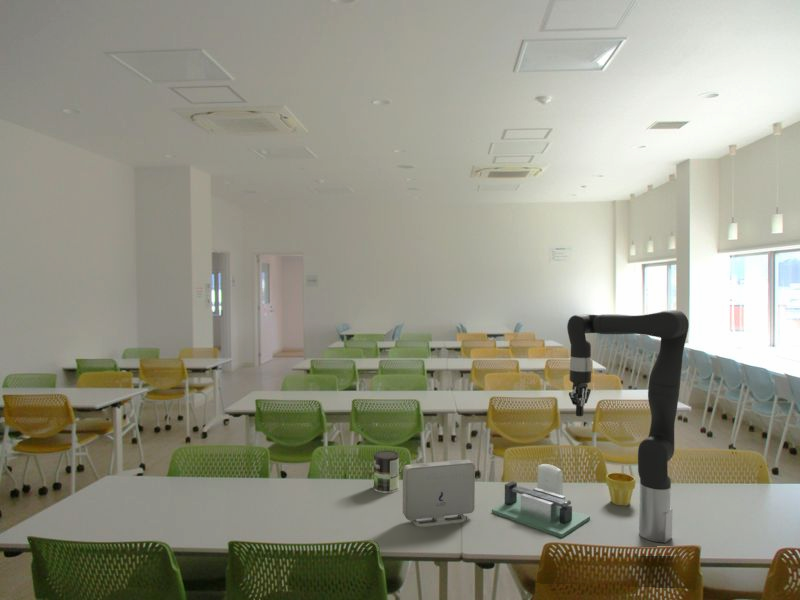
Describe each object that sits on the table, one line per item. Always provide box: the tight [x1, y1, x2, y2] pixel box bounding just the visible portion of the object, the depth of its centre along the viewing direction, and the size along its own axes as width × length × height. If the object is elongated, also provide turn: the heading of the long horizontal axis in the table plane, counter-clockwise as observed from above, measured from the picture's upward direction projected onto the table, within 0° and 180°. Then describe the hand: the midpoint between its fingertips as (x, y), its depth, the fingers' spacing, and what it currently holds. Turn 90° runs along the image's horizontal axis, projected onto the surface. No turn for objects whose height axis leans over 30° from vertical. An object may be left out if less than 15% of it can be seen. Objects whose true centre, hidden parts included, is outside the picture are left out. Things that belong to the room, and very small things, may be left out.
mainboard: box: [491, 494, 591, 538], centre depth 200 cm, size 28×20×1 cm
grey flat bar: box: [512, 485, 572, 508], centre depth 200 cm, size 21×4×1 cm, turn 45°
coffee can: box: [373, 450, 400, 494], centre depth 226 cm, size 10×10×14 cm
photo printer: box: [537, 463, 564, 496], centre depth 218 cm, size 10×4×12 cm, turn 39°
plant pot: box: [605, 472, 636, 506], centre depth 213 cm, size 10×10×10 cm
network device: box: [402, 459, 476, 528], centre depth 197 cm, size 26×9×20 cm, turn 105°
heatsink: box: [504, 480, 573, 524], centre depth 201 cm, size 24×10×7 cm, turn 45°
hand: (579, 415), depth 205 cm, fingers closed
